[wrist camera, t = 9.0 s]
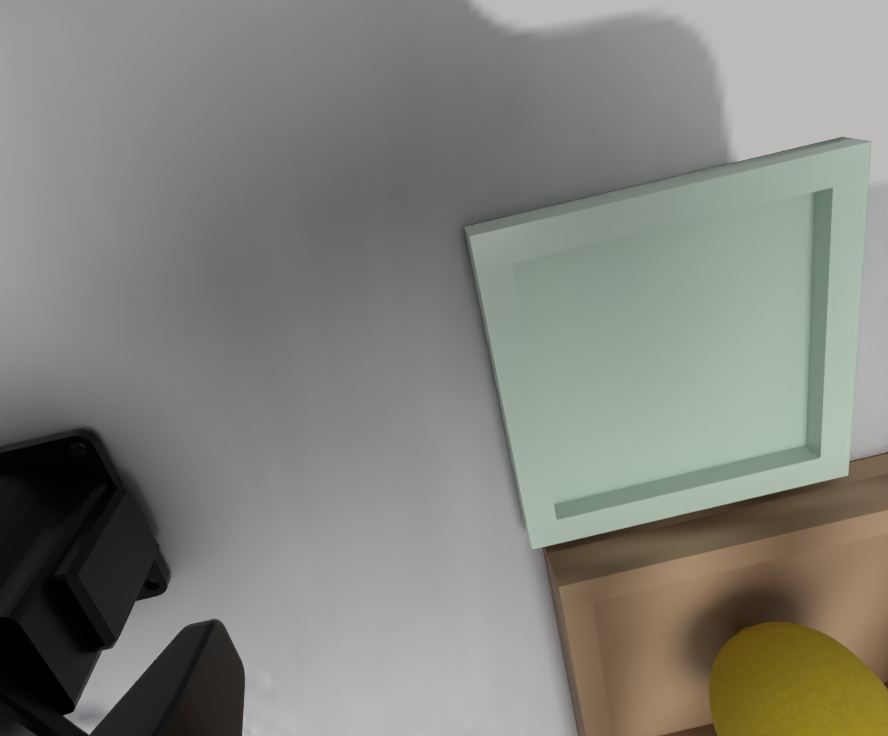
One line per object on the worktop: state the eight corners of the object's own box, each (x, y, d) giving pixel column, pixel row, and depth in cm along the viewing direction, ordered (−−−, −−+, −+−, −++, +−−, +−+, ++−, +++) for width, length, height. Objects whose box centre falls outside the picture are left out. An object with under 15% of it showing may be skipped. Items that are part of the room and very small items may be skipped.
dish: (524, 527, 23) (531, 549, 22) (463, 226, 18) (469, 236, 17) (826, 456, 23) (848, 475, 22) (841, 137, 18) (871, 141, 17)
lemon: (807, 666, 26) (974, 893, 19) (673, 693, 26) (789, 933, 19) (819, 561, 24) (1013, 774, 17) (672, 590, 24) (803, 818, 16)
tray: (580, 745, 28) (598, 806, 26) (540, 535, 23) (558, 587, 21) (892, 672, 28) (938, 727, 26) (920, 445, 23) (982, 487, 21)
